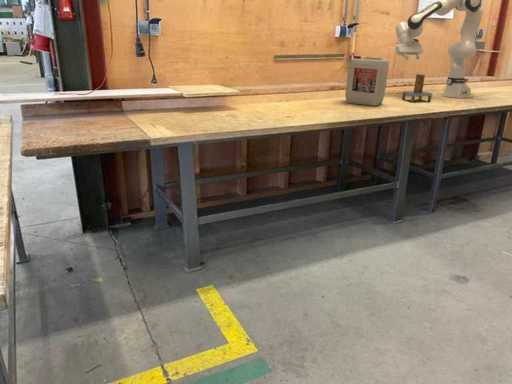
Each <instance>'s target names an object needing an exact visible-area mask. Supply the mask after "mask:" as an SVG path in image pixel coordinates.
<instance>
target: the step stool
mask: <svg viewBox="0 0 512 384" xmlns="http://www.w3.org/2000/svg"><path fill="white" fill-rule="evenodd" d="M407 95H408V96H411V99H410V103H412V104H413V103H414V104H415V98H416V97H418V100H422V98H423V97H427V103H431V101H432V96H433V95H434V94H433V93H432V92H429V91H424V90H422V93H416V92H414V90H403V91H402V96H401V100H402V101H406V97H407Z"/></svg>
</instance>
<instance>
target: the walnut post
mask: <svg viewBox="0 0 512 384" xmlns="http://www.w3.org/2000/svg"><path fill="white" fill-rule="evenodd" d="M425 79H426V75H425V74H421V73H420V74H419V73H418V74H417V73H416V76H415V83H414V87H413V91H414V92H416V93H422V91H424V90H423V89H424V85H425V84H424V83H425Z"/></svg>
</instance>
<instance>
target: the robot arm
mask: <svg viewBox="0 0 512 384" xmlns="http://www.w3.org/2000/svg"><path fill="white" fill-rule="evenodd" d="M481 3H482V0H437V1H435V2H433V3H431V4H429V5H428V6H427V7H425V8H423V9H422V10H421V11H419V12H416V13H414V14H412V15H411V16H410V15H409V17H408V19H407V22H406V21H400V22H399V23H397V25H396V26H395V34H396V37H397V38H398V41H399V42H396V43H395V44H394V46H395V50H396V54H397V55H398V56H402V57H403V58H404V60H405V61H406V60H409V56H413V55H414V56H416V57H415V60H419V59H420V55H421V54H422V53H423V51H424V49H423V46H422V44H421V43H420V39H417V37H419V36H420V35H421V34H422V33H423V27H424V26H423V24H424V21H425V20H426V19H428V18H430V17H431V16H432V15H433V14H436V15H437V16H443V17H444V16H446V15H447V14H449V13H450V12H451V11H453V10H454V9H456V10H457V11H460V12H465V17H464V19H463V22H462V25H461V28H460V31H459V36H460V41H459V42H454V43H452V44H450V45H449V46H448V51H447V53H448V55H449V58H450V61H449V62H450V67H449V72H448V77H447V80H446V85H445V89H444V92H443V94H442V96H443V97H448V98H455V99H456V98H458V99H467V98H469V99H470V98H473V97H474V95H472V93H471V88H470V87H469V86H468V84H467V83H466V82H469V78H466V77H465V76H466V72H467V65H466V61H465V60H469V59H472V58H473V57H474V56H475V55H476V54H477V46H476V37H477V33H478V31H479V27H480V24H481V21H482V18H483V13H484V12H483V11H484V10H483V8H482V7H481V5H482V4H481Z"/></svg>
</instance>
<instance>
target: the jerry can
mask: <svg viewBox="0 0 512 384" xmlns="http://www.w3.org/2000/svg"><path fill="white" fill-rule="evenodd" d="M389 63H390V60H389V59H387V58H385V57H380V56H379V57H375V56H374V57H373V56H365V57H362V56H361V55H353V57H352V58H351V59H350V60H349V63H348V66H347V78H346V87H345V96H344V97H345V102H346V103H348V104H354V105H364V106H372V107H376V106H378V105H380V104H382V103H383V102H384V98H385V97H386V95H385V94H386V86H387V80H388V75H389V67H390V65H389Z"/></svg>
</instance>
